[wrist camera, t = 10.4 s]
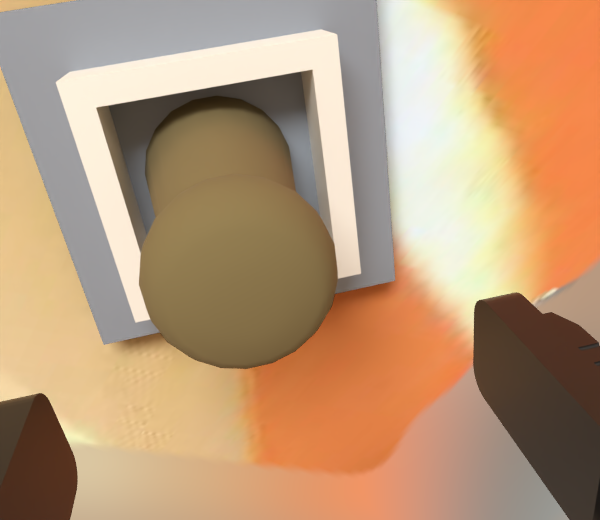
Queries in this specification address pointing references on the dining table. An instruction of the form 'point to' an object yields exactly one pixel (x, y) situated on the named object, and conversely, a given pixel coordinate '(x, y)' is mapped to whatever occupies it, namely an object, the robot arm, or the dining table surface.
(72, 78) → the board
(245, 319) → the olive brown knobbed peg
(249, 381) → the dining table surface
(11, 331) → the dining table surface
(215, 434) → the dining table surface
